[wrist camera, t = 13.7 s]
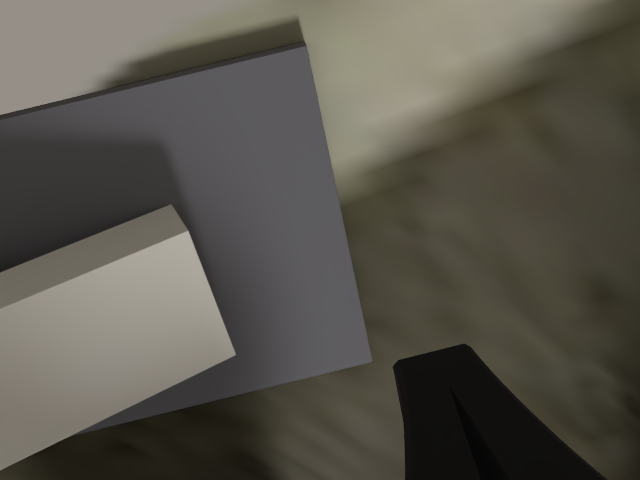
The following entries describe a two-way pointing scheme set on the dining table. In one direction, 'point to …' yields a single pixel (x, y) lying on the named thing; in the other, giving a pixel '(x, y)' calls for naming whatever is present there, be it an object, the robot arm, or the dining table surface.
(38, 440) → the beige rectangular block
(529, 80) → the dining table surface
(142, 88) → the domino mat
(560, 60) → the dining table surface
